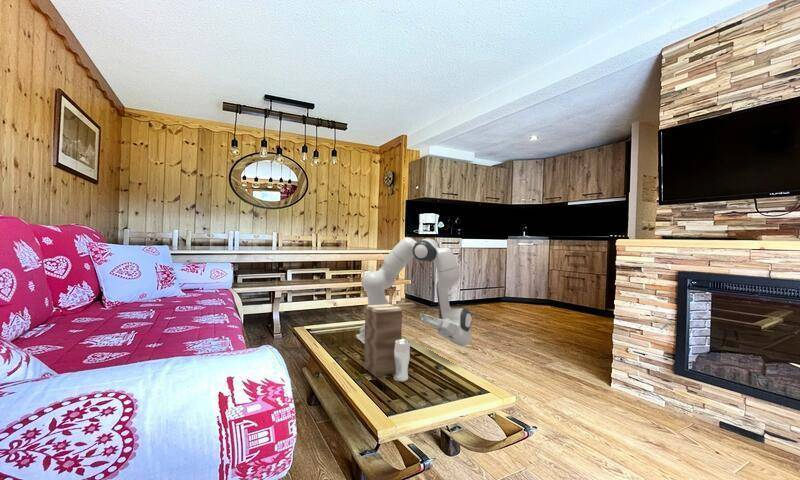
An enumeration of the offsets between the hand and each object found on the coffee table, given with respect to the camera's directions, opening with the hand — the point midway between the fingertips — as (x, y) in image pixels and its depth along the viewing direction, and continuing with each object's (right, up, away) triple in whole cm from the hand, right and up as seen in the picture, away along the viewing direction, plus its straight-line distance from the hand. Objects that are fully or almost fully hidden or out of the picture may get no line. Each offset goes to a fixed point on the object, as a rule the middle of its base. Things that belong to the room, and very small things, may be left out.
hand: (427, 316), depth 160 cm
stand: (-20, -20, -13) cm, 31 cm away
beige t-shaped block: (-16, +6, -10) cm, 19 cm away
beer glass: (-12, -21, -22) cm, 32 cm away
